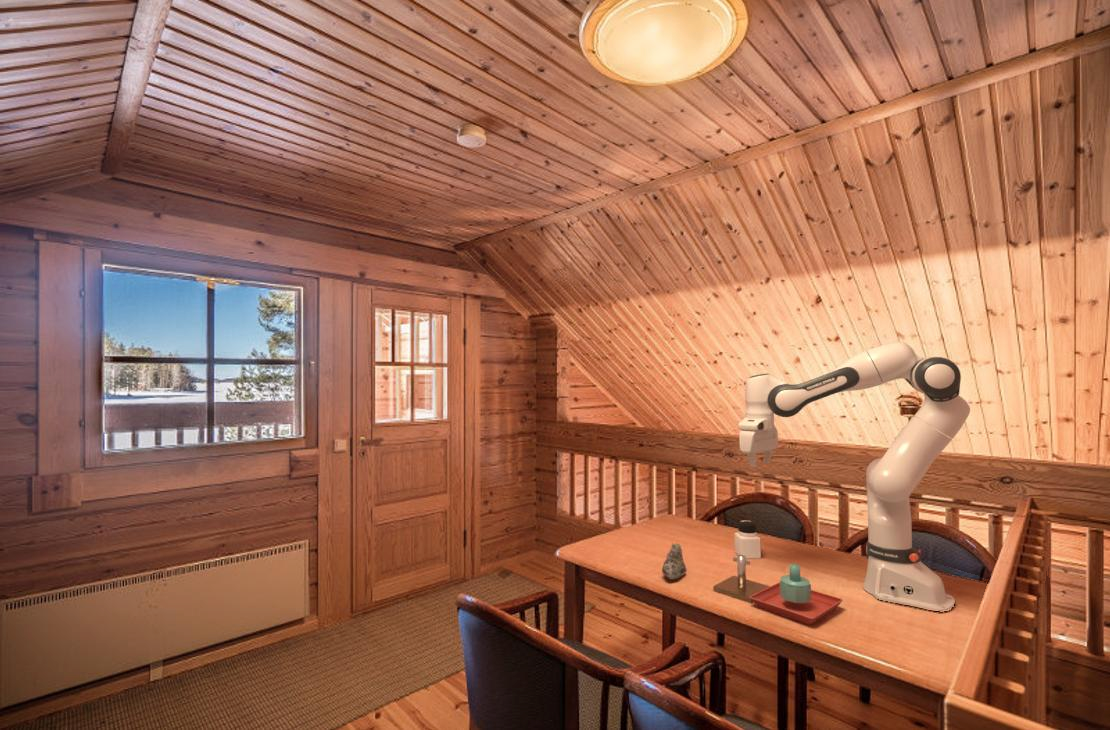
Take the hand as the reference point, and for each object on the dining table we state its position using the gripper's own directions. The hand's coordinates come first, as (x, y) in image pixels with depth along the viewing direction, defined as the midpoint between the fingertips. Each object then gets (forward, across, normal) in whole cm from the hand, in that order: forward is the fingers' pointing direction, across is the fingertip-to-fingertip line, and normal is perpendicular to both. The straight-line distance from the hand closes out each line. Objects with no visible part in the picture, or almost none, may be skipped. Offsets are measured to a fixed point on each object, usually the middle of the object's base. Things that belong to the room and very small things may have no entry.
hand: (760, 465), depth 177 cm
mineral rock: (+35, +23, -19) cm, 46 cm away
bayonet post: (+35, +19, +3) cm, 40 cm away
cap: (+32, +19, +19) cm, 42 cm away
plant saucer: (+36, +19, +19) cm, 45 cm away
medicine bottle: (+35, -12, -11) cm, 39 cm away
